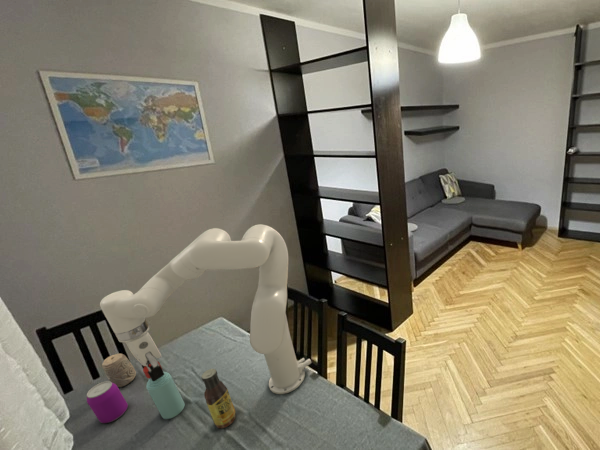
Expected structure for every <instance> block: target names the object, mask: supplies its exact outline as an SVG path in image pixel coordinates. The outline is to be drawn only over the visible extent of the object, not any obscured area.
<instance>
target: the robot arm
mask: <svg viewBox="0 0 600 450" xmlns="http://www.w3.org/2000/svg"><path fill="white" fill-rule="evenodd" d="M288 250H289V249H288V245H287V244H286V241H285V239H284V238H283V236H282V235H281V234H280V233H279V232H278V231H277V230H276V229H275V228H273V227H271V226H269V225H266V224H260V223H259V224H255V225H252V226H251V227H249V228H248V229H247V230H246V231H245V233H244V234H243V236H242V238H241V239H240V240H232V239H231V236H230V234H229V233H228V232H227V231H226V230H224V229H222V228H218V227H213V228H209V229H207V230H205V231H203V232H202V233H201V234H199V235H198V236H197V237H196V238H195V239H194V240H193V241H192V242H190V243H189V244H188V245H187V246H186V247H185V248H184V249H182V250H181V251H180V252H179V253H178V254H177V255H176V256H174V257H173V258H172V259H171V260H170V261H169V262H168V263H167V264H166V265H164V266H163V267H162V268H161V269H160V270H158V271H157V272H156V273H155V274H154V275H153V276H152V277H151V278H149V280H148V281H146V283H144V285H142V287H141V288H140V289H138V291H136V292H135V293H133V291H131V290H128V289H123V290H122V289H121V290H117V291H114V292H112V293H110V294H108V295H105V296H104V297H102V299H101V300H100V302H99V307H100V309H101V312H102V314H103V315H104V317H105V318H106V320H107V323H108V324H109V326H110V328H111V330H112V331H113V333H114V335H115V337H116V339H117V340H118V342H119V343H125V344H126V346H127V348H128V350H129V351H130V353H131V354H132V356H133V357H134V359H136V361H138V363H140V364H141V368H142V370H143V369H144V367H145V366H146V367H147V369H148V373H149V375H150V377H151V379H152V381H155V380H157V379H159V378H160V377H162V376H163V375H164V372H165V371H163V367H162V365H161V364H160V365H161V366H160V365H159V363H160V362H159V361H158V359H161V358H162V353H161V351H160V350H159V348H158V346H157V345H156V343H155V341H154V339H153V338H152V336H151V334H150V333H149V330H150V325H149V323H148V321H147V319H149V318H150V317H153V316H155V315H156V314H158V312H159V311H160V310H161V309H162V307H163V306H164V305H165V303H166V302H167V300H168V299H169V298H170V297H171V295H172V294H173V293H174V292H175V291H176V290H177V289H179V287H181V286H182V285H183V284H184V283H185V282H186V281H194V280H197V279H198V278H199V277H201V276H202V275H203V274H204V273H205V272H206V271H229V270H231V271H232V270H248V269H249V270H250V269H255V268H258V267H259V268H258V283H257V289H256V292H255V295H254V297H253V302H252V306H251V312H250V313H251V314H250V327H249V345H250V346H251V348H252V349H253V351H254V352H256V353H258V354H261V355H263V356H264V359H265V362H266V366H267V368H268V371H269V374H270V378H269V381H268V387H269V390H270V391H271V392H272V393H273V394H275V395H286V394H289V393H291V392H293V391H295V390H296V389H297V388H299V387H300V386H301V384H302V383H303V382H304V380H305V376H306V372H305V368H306V367H308V366H310V365H311V364H312V360H311V359H310V358H307V359H306V358H305V357H302V358H300V359H299V360H298V359H297V355H296V353H295V348H294V345H293V341H292V336H291V333H290V329H289V322H288V317H287V312H286V311H287V303H288V280H289V279H288V278H289V277H288V276H289V251H288ZM157 361H158V362H159V363H158V362H157ZM149 364H151V366H150V367H149ZM161 367H162V368H161Z"/></svg>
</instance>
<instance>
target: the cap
mask: <svg viewBox="0 0 600 450" xmlns="http://www.w3.org/2000/svg"><path fill="white" fill-rule="evenodd" d="M157 362H158V363H159V365H160V366H161V368H162V369H163V367H162V365H161V363H160V362H159V361H158V360H157ZM150 366H151V364H149V367H150ZM142 372H143V374H144V375H145V378H147V379H149V378H151V377H150V375H149V373H148V369H147V367H146V366H145V367H144V369H143V368H142Z"/></svg>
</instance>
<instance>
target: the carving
mask: <svg viewBox="0 0 600 450" xmlns="http://www.w3.org/2000/svg"><path fill="white" fill-rule="evenodd" d="M101 367H102V369H103V371H104V374H105V376H106V378H107V379H108V380H107V381H110V382H112V383H114V384H116V385H117V387H118V388H123V387H125V386H127V385H129V384H130V383H132V381H133V380H134V379H135V378H136V375H137V371H136V369H135V367H134V366H133V363H131V361H130V359H129V358H128V357H127V356H126V355H125V354H123V353H115V354H112V355H109V356H107V357H106V358H105V359H104V360H103V362H102V364H101Z"/></svg>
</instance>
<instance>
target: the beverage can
mask: <svg viewBox="0 0 600 450" xmlns="http://www.w3.org/2000/svg"><path fill="white" fill-rule="evenodd" d="M86 403H87V405H88V406H89V408H90V409H91V410H92V412H93V414H94V416H95V417H96V418H97V420H98V422H100V423H101V424H108V423H112V422H115V421H116V420H118V419H120V418H121V417H122V416H123V415H124V414H125V412H126V411H127V410H128V407H129V404H128V402H127V400H126V399H125V397H124V396H123V394H122V392H121V390H120V387H117V385H116V384H114V383H112V382H110V381H109V380H105V381H101V382H100V383H98V384H95V385H93V386H92V387H91V388H90V389H89V390H88V391H87V393H86Z"/></svg>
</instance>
